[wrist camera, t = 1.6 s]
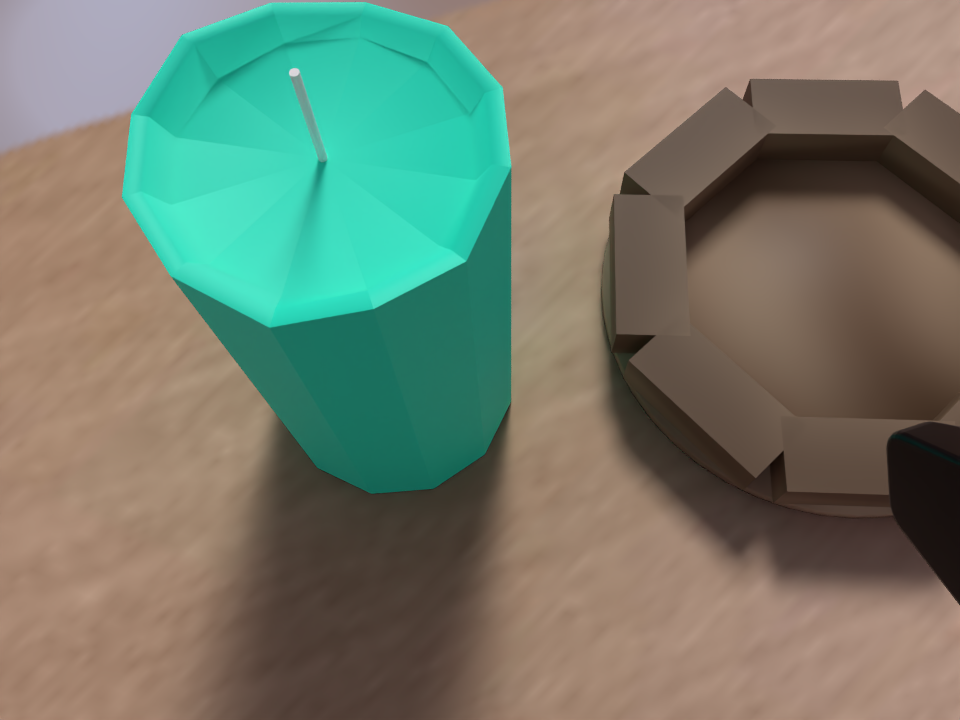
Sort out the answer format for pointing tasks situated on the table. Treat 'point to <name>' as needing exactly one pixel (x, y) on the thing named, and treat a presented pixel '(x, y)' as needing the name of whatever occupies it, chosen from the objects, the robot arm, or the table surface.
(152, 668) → the table surface
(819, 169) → the ring seat
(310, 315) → the candle
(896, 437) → the robot arm
